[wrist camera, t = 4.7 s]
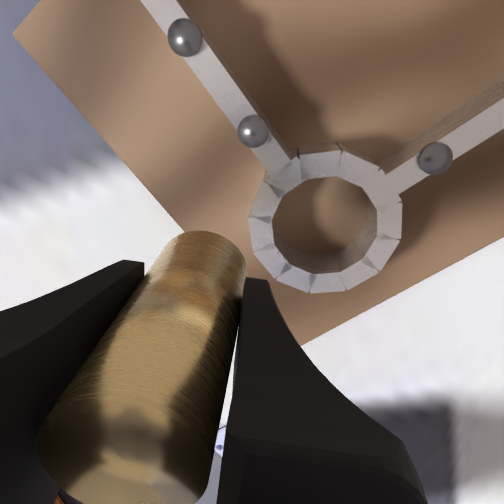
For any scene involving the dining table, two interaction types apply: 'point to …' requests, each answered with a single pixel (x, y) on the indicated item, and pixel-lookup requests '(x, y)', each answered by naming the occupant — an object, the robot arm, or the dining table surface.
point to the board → (293, 121)
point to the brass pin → (153, 384)
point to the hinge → (324, 163)
